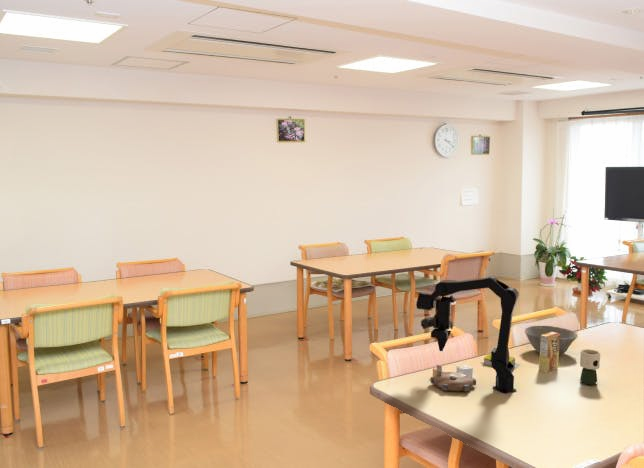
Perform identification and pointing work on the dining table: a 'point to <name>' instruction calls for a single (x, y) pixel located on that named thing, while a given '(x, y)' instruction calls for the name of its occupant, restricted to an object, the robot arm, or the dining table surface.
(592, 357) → the character mug
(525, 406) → the dining table surface
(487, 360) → the emergency button
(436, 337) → the robot arm
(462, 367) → the grey small block
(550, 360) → the candy box
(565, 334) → the ceramic bowl
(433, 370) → the index pointer
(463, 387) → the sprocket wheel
